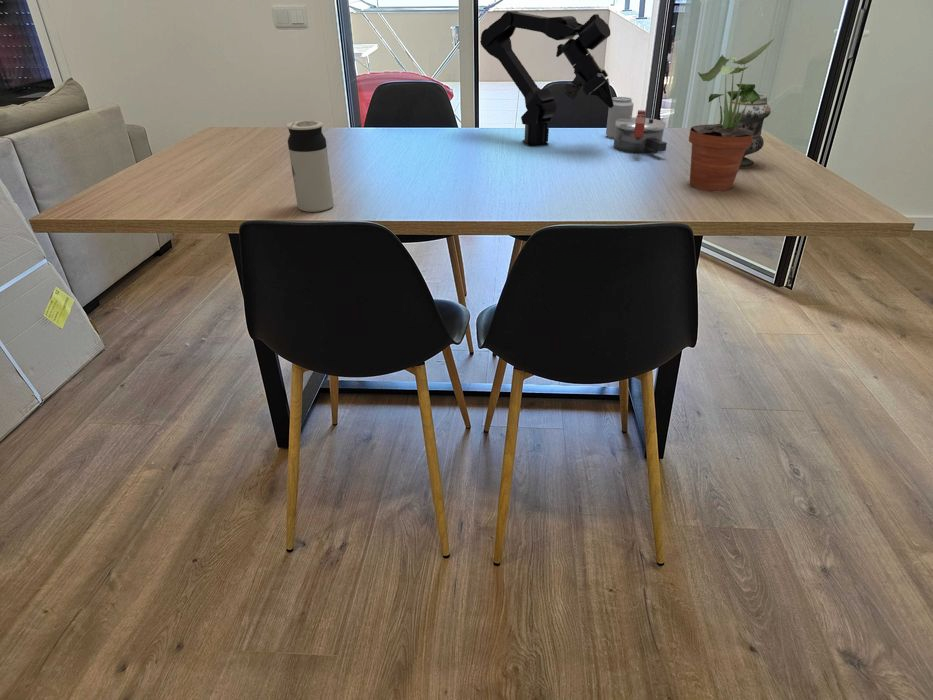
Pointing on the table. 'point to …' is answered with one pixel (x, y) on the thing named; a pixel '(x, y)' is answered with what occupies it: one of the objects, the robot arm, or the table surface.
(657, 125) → the lid
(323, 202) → the travel mug
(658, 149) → the dark grey curved piece
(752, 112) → the weathered urn vase
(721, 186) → the potted plant
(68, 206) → the table surface
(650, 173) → the table surface
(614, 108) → the can
